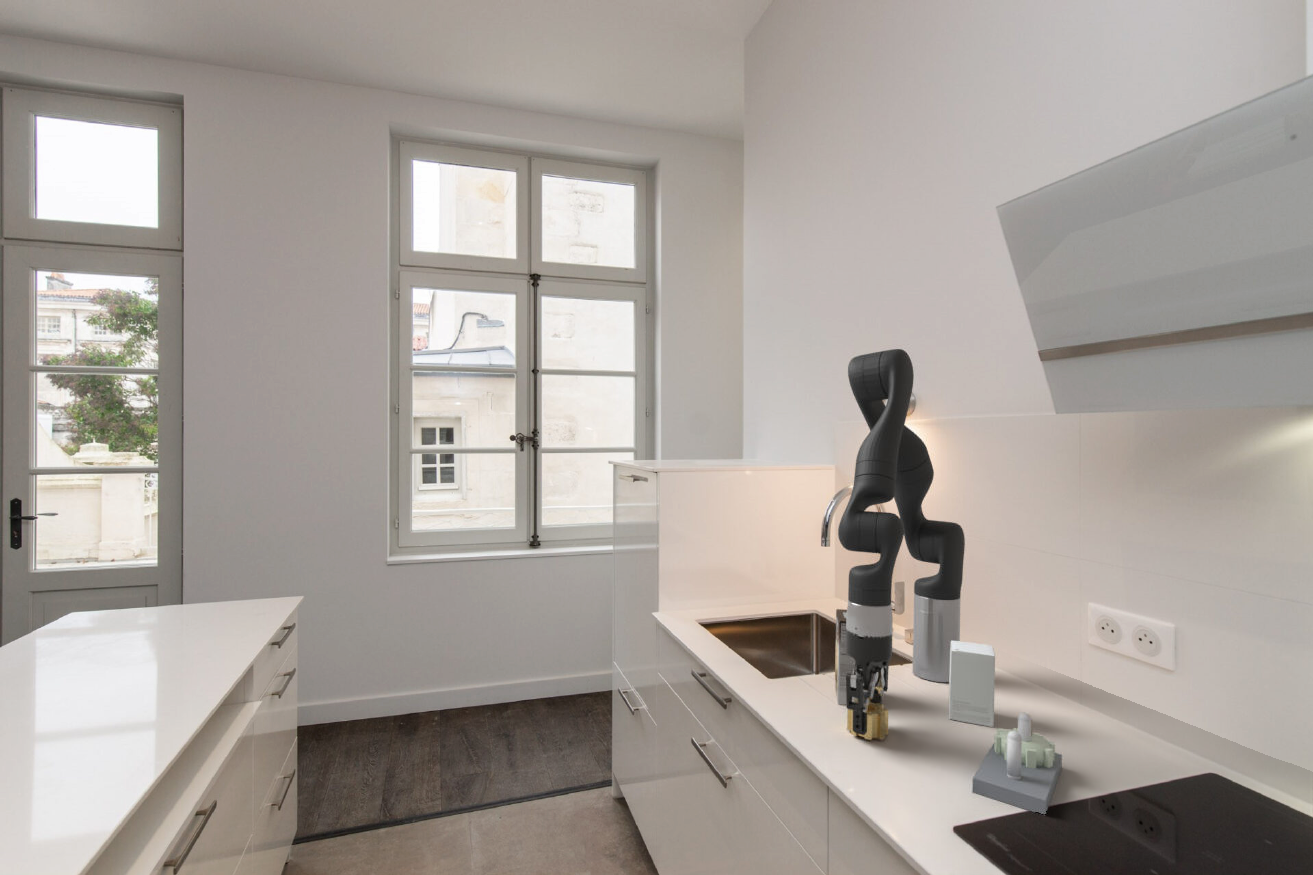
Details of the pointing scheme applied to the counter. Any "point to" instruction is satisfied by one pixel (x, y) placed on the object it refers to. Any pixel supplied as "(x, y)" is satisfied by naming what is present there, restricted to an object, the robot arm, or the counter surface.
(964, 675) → the supplement box
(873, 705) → the brass gear
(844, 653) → the coffee box
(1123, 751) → the counter surface
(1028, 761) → the gear board
